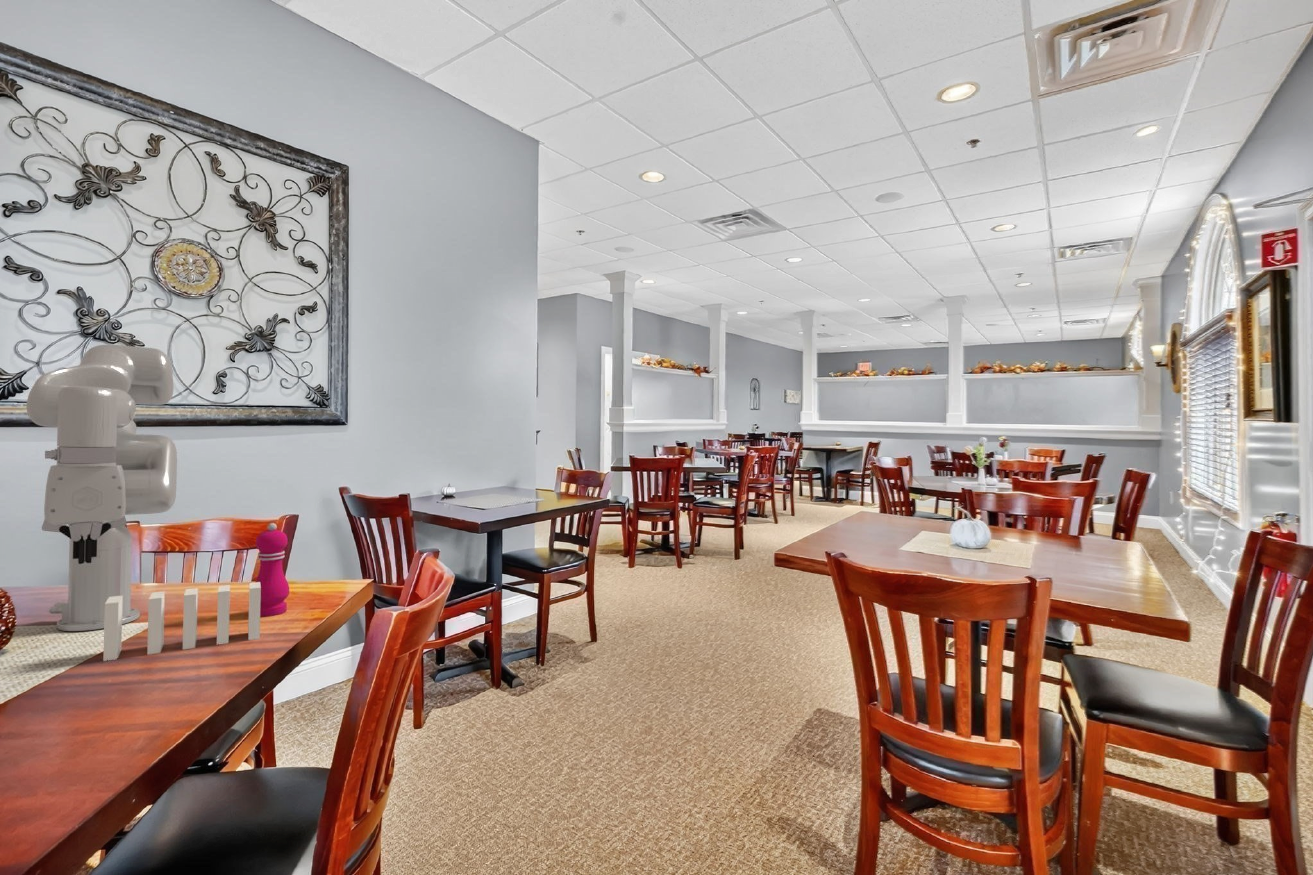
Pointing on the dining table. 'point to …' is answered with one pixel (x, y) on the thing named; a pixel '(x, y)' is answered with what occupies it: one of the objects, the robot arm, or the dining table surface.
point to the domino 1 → (156, 622)
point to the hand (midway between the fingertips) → (84, 562)
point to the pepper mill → (272, 571)
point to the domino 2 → (190, 618)
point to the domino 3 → (223, 614)
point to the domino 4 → (254, 611)
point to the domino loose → (112, 628)
